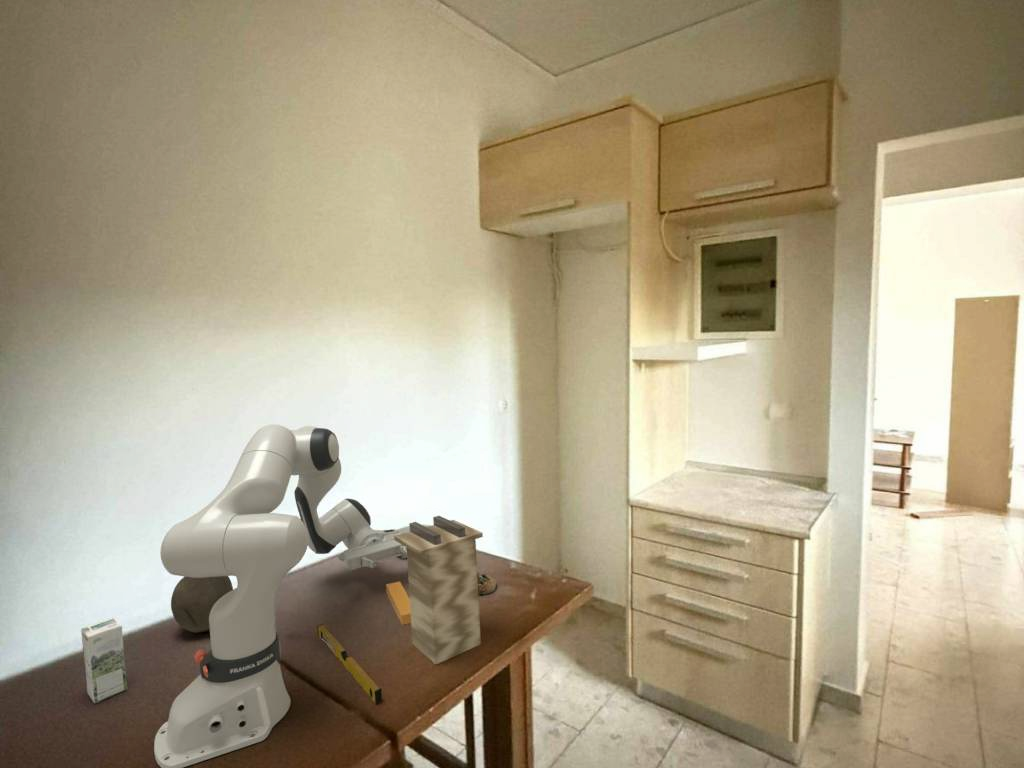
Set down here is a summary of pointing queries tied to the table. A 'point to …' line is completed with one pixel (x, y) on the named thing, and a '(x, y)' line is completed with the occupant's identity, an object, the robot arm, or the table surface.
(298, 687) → the table surface
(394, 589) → the long orange beam
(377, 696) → the spirit level
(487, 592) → the bread roll
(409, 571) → the stand
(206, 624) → the dark grey ball
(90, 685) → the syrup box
